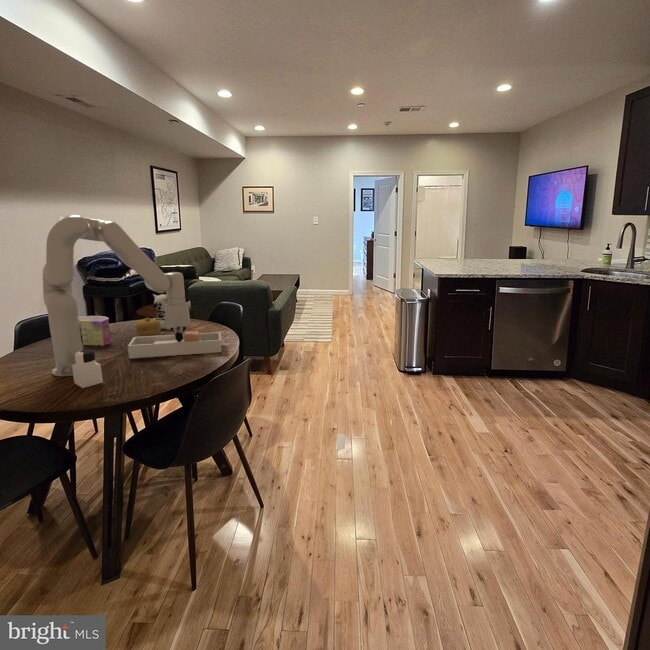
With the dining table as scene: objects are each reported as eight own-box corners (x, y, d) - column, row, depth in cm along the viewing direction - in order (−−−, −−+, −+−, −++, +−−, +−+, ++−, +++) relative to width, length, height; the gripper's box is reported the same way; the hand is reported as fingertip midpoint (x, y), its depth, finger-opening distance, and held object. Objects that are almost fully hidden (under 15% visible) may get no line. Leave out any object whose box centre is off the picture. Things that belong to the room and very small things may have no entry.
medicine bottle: (94, 378, 157) (90, 347, 154) (103, 382, 153) (99, 351, 150) (74, 383, 152) (69, 351, 149) (82, 388, 147) (77, 356, 144)
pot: (132, 340, 206) (130, 320, 203) (142, 334, 217) (140, 315, 214) (156, 340, 206) (154, 320, 203) (165, 334, 217) (163, 315, 215)
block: (198, 343, 187) (198, 335, 186) (184, 344, 185) (183, 335, 184) (199, 339, 193) (198, 331, 192) (185, 340, 192) (185, 331, 191)
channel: (221, 353, 187) (220, 340, 185) (129, 359, 178) (127, 345, 176) (221, 344, 200) (220, 332, 198) (135, 349, 191) (133, 337, 189)
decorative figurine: (144, 329, 226) (140, 292, 221) (160, 323, 240) (157, 288, 235) (168, 331, 223) (165, 293, 218) (183, 324, 237) (181, 289, 232)
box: (111, 342, 202) (108, 318, 199) (104, 346, 196) (101, 321, 193) (91, 341, 203) (87, 318, 200) (83, 345, 197) (79, 320, 194)
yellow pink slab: (121, 333, 218) (119, 318, 216) (75, 344, 199) (72, 327, 197) (94, 326, 231) (92, 312, 229) (49, 336, 212) (47, 320, 210)
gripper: (156, 303, 178) (160, 344, 183) (193, 301, 182) (196, 342, 186) (159, 300, 185) (162, 340, 190) (194, 298, 189) (197, 338, 193)
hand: (179, 341), depth 188 cm, fingers closed
